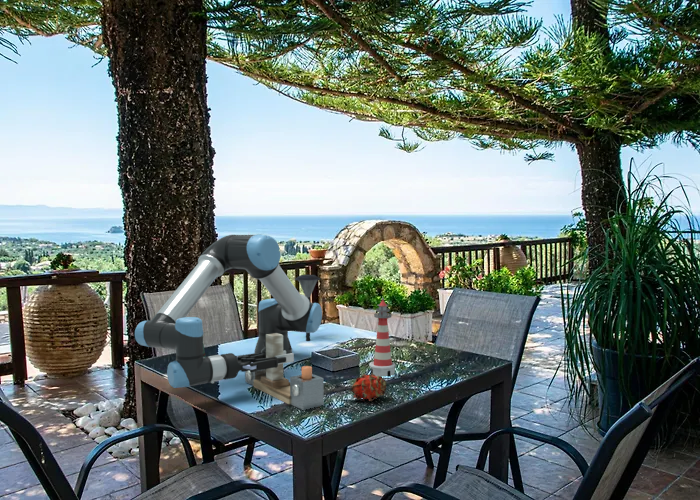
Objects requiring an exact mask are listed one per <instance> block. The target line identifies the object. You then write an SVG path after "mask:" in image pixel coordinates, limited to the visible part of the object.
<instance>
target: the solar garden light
mask: <svg viewBox="0 0 700 500" xmlns="http://www.w3.org/2000/svg"><path fill="white" fill-rule="evenodd" d="M294 280H295V281H298V282H299V285H300V287H301V289H302V291H303V295H304V296H306V297H307V298H308V299H309V301H310V302H311V297H312V294H313V291H314V289H315V286H317V285H316V284H317V282H318V281H320V280H321V277H318V276H317V275H316V274H301V275H299V276H297V277H295V278H294ZM305 341H307V342H309V341H311V333H306V332H305Z"/></svg>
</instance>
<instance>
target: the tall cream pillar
mask: <svg viewBox="0 0 700 500" xmlns="http://www.w3.org/2000/svg"><path fill="white" fill-rule="evenodd" d="M277 355H283V335H282V334H278V333H273V334H266V358H270V357H275V356H277ZM261 382H262V383H264V384H267V385H269V386H271V387H273V388H275V389H276V388H281V387H286V386H289V382H290V379H288V378H286V377H284V364H278V367H277V368H275V367H274V368H269V369H266V376H264V377H261Z"/></svg>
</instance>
